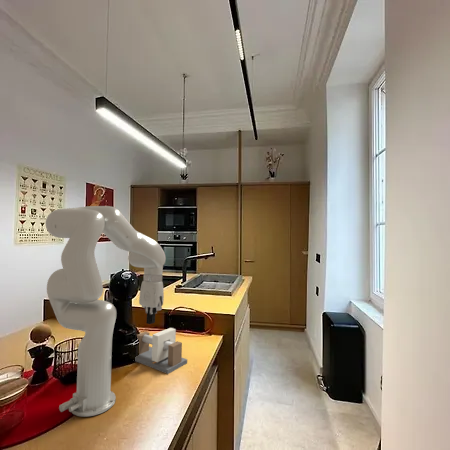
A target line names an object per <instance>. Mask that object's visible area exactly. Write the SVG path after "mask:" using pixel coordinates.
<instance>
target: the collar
mask: <svg viewBox="0 0 450 450" xmlns="http://www.w3.org/2000/svg"><path fill="white" fill-rule="evenodd" d="M176 330H177V329H176V328H174V327H169V328H167V329H163V330H160V331H158V332H156V333H153V334H152V336H153V337H152V344H151V347H152V361H155V362H159V361H161V360H163V359H165V358H167V357H168V350H167V349H164V348H163V345H164V341H169V342H172V343H175V342H176V338H177V337H176V335H177V333H176V332H177V331H176Z"/></svg>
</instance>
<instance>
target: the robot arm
mask: <svg viewBox="0 0 450 450" xmlns="http://www.w3.org/2000/svg"><path fill="white" fill-rule="evenodd" d="M45 228H46V231H47V232H48V233H49V234H50V235H51V236H52V237H55V238H58V239H68V241H67V243H65V246H64V248H63V249H62V252H61V255H60V262H61V266H62V268H59V269H57V270H55V271H54V272H53V273H52V274H50V276H49V278H48V280H47V283H46V293H47V294H46V295H47V297H48V301H49V303H50V306H51V308H52V310H53V313H54V315H55V318H56V320H57V321H58V324H59V325H60V326H61V327H63V328H65V329H68V330H74V331H80V332H84V333H85V334H84V336H83V338H82V339H81V341H80V342H79V344H78V346H77V347H78V349H77V368H76V369H77V373H76V375H77V376H76V391H75V392H74V393H72V398H70V399H69V400H67V401H65V402H63V403H62V404H59V407H58V409H59V412H60V413H63V412H64V411H66V410H68V412H70V413H72V414H73V415H75V416H77V417H82V418H83V417H84V418H86V417H88V418H89V417H94V416H97V415H100V414H103V413H105V412H106V411H108V410H110V409H111V408H112V407H113V406H114V405H115V403H116V398H117V397H116V394H115V393H114V391H111V388H112V387H111V386H112V357H113V355H112V352H113V334H114V328H115V323H116V319H117V308H116V307H115V306H114V304H112V303H111V302H109V301H106V300H103V299H100V298H101V296H102V295H103V292H104V286H103V282H102V278H101V275H100V270H99V268H98V264H97V261H96V256H95V250H96V247H97V244H98V242H99V239H100V237H101V235H102V234H104V235H105V236H106V237H107V238H108V239H109V240H110V241H111V242H112V243H113V244H114V245H115V246H116V247H117V248H118V249H120V250H123V251H126V252H129V254H128V258H127V260H128V263H129V265H130V266H132V267H135V268H143V271H144V272H143V280H142V282H141V286H140V290H139V291H140V292H139V300H138V303H139V305H140V306H141V307H142V308H143V309H144V310H145V314H146V324H147V325H151V324H155V322H156V314H158V312H159V311H161V310H162V309H163V307H162V306H163V305H164V294H165V293H164V283H163V270H164V269H163V268H164V265H165V264H166V261H167V260H166V257H167V256H166V254H165V251H164V250H163V248H162V246H161V245H160V244H159V243H158V242H157V241H156V240H155V239H153V238H151V237H150V236H147V235H146V234H143V233H142V232H139V230H138V231H137V230H136V229H135V228H134V227H133V225H132V224H131V223H130V222H129V221H128V220H127V218H126V217H125V216H124V214H123V213H122V212H121V211H120V210H119V209H118V208H116V207H114V206H111V205H110V206H109V205H90V206H88V205H87V206H79V207H71V208H70V207H69V208H57V209H54V210H53V211H52V212H50V213H49V214H48V215H47V217H46V219H45Z"/></svg>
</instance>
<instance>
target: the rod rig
mask: <svg viewBox="0 0 450 450" xmlns="http://www.w3.org/2000/svg"><path fill="white" fill-rule="evenodd" d="M136 335H137V338H138V340H139V355H138V356H136V357H135V361H134V362H137V363H138V364H142V365H144V366H147V367H149V368H152V369H153V370H157V371H159V372H162V373H165V374H167V375H169V374H170V373H172V372H174V371H177V369H179V368H181V367H183V366H184V365H186V364H188V359H187V358H186V357H185V358H184V357H183V356H182V355H183V354H182V353H183V343H182V342H180V341H179V340H178V341H175V343H172V342H169V341H164V345H163V348H164V349H167V350H168V357H167V358H165V359H163V360H161V361H159V362H155V361H152V346H150V345H152V337H153V335H150V332H147V331H143V332H141V333H140V332H139V334H136Z"/></svg>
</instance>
